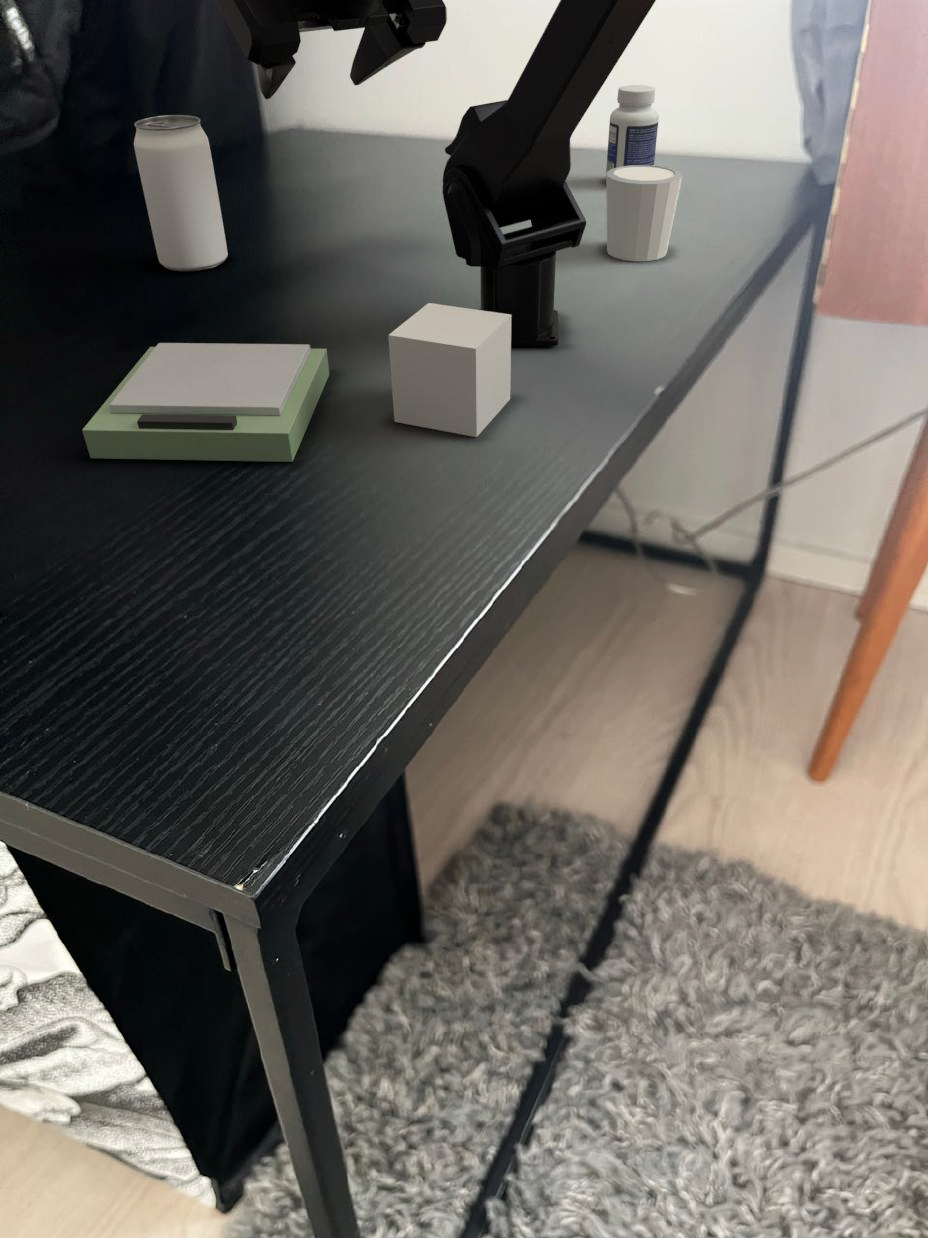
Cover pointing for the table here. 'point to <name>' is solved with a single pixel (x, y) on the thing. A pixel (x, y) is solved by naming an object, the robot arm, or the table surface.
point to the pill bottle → (633, 128)
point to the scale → (211, 403)
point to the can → (180, 192)
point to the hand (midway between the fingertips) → (310, 87)
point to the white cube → (451, 368)
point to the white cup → (641, 210)
